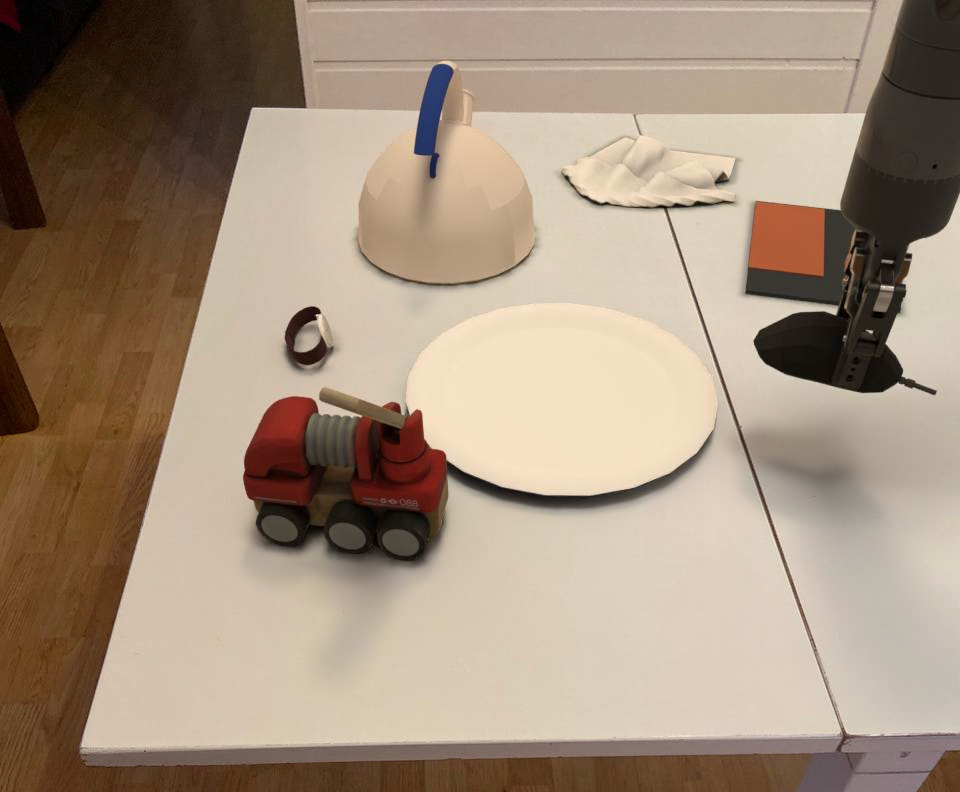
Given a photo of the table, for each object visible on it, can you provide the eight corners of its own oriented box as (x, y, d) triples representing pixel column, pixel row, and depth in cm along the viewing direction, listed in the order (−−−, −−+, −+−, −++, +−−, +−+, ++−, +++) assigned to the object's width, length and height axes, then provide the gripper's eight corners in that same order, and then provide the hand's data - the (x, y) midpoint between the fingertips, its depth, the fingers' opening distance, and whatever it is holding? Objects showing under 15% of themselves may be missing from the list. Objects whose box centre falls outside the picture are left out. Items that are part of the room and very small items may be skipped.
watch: (335, 368, 94) (330, 336, 92) (286, 372, 94) (280, 340, 91) (333, 324, 99) (328, 292, 96) (287, 327, 99) (281, 295, 96)
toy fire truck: (280, 475, 85) (242, 293, 71) (454, 495, 83) (449, 313, 69) (238, 568, 78) (186, 386, 64) (427, 592, 76) (415, 410, 62)
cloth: (538, 175, 120) (539, 155, 118) (658, 124, 129) (661, 105, 127) (659, 239, 110) (662, 218, 108) (780, 179, 119) (785, 159, 117)
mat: (893, 219, 113) (894, 214, 112) (900, 312, 101) (901, 308, 100) (755, 203, 115) (756, 199, 115) (745, 293, 103) (746, 288, 102)
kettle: (546, 201, 115) (556, 32, 101) (520, 295, 103) (527, 117, 89) (382, 186, 118) (369, 20, 104) (337, 276, 105) (315, 100, 91)
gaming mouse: (927, 417, 74) (946, 373, 71) (742, 365, 79) (752, 322, 76) (943, 373, 78) (961, 330, 75) (765, 326, 82) (775, 283, 79)
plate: (366, 351, 96) (364, 336, 95) (626, 291, 103) (628, 277, 102) (473, 545, 79) (473, 531, 78) (776, 458, 86) (781, 443, 85)
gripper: (982, 206, 60) (895, 421, 73) (964, 108, 69) (889, 316, 82) (858, 194, 61) (794, 408, 74) (856, 99, 70) (799, 305, 83)
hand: (844, 359), depth 78 cm, fingers closed on gaming mouse, 6 cm apart
